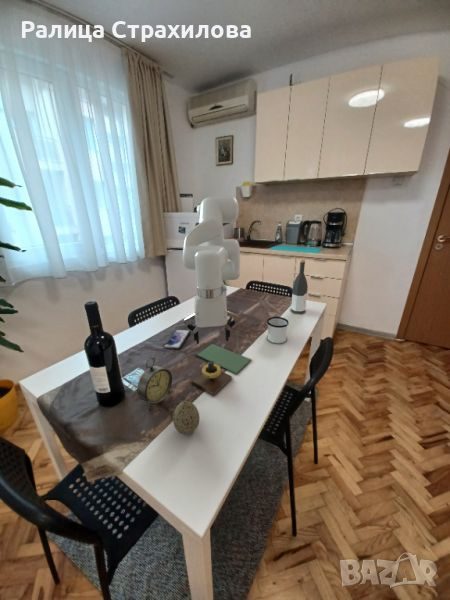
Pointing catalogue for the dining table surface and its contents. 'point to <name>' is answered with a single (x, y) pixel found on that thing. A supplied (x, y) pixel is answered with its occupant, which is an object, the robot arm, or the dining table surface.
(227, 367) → the mat
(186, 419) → the decorative egg
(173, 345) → the smartphone
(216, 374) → the ring
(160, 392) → the alarm clock
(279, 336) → the mug
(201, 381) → the stand
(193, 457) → the dining table surface
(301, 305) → the wine bottle
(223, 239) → the robot arm
